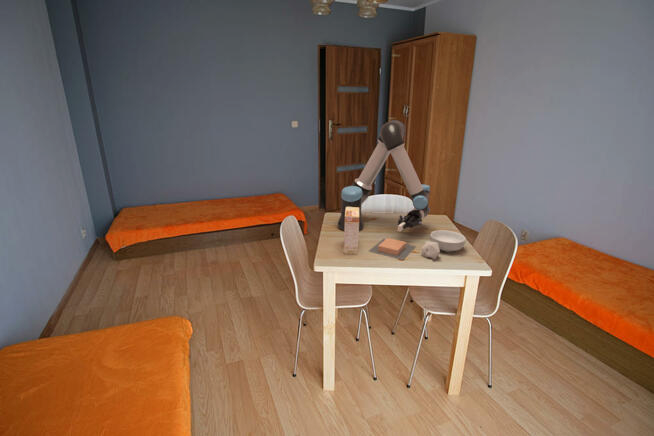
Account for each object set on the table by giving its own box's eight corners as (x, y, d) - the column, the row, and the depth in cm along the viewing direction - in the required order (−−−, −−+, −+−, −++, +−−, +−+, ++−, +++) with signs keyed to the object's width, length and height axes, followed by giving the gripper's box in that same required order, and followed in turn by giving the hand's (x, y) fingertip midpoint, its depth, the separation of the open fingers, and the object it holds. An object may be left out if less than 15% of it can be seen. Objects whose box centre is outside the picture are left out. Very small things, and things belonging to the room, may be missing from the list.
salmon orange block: (387, 243, 179) (377, 251, 170) (387, 237, 178) (378, 245, 169) (405, 247, 174) (397, 256, 165) (406, 242, 174) (397, 250, 164)
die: (418, 254, 171) (417, 244, 163) (431, 244, 172) (431, 234, 165) (430, 266, 166) (430, 256, 158) (443, 255, 167) (444, 245, 160)
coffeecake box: (344, 241, 183) (345, 206, 177) (357, 242, 182) (359, 207, 176) (343, 253, 169) (344, 215, 163) (357, 254, 168) (359, 216, 162)
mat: (368, 253, 170) (368, 251, 170) (383, 240, 185) (383, 238, 185) (403, 262, 161) (403, 260, 161) (416, 248, 176) (416, 246, 176)
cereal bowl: (437, 256, 168) (439, 243, 165) (423, 243, 183) (425, 230, 181) (470, 254, 170) (472, 241, 168) (453, 241, 186) (455, 229, 183)
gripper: (426, 224, 191) (410, 238, 172) (403, 220, 197) (386, 232, 179) (427, 211, 188) (412, 224, 170) (404, 207, 195) (387, 219, 176)
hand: (399, 228), depth 174 cm, fingers closed
